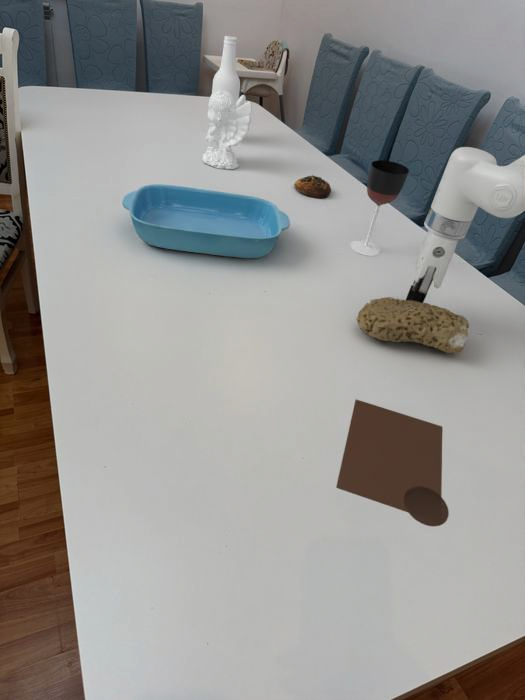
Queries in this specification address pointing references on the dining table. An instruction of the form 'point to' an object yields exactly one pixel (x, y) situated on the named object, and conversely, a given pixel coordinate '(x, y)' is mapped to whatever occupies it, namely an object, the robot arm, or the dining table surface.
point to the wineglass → (381, 195)
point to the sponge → (414, 324)
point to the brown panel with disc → (395, 462)
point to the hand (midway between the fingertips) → (412, 305)
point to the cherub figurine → (226, 128)
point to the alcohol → (227, 71)
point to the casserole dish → (205, 220)
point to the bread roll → (313, 186)
